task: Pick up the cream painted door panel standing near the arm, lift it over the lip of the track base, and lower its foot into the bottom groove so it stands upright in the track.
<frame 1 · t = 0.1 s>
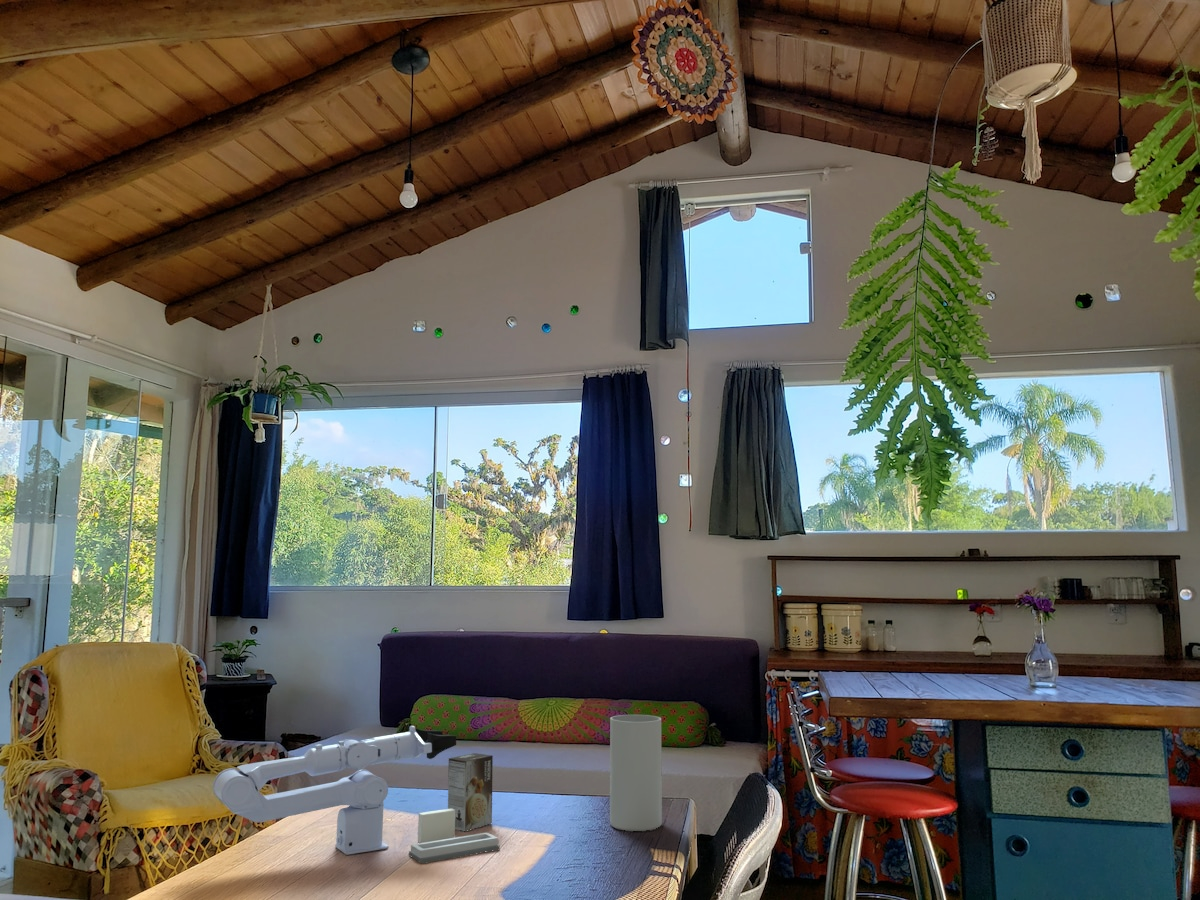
hand: (448, 737, 209), 22 cm above the table, tool horizontal, fingers open, 7 cm apart
door panel: (436, 841, 200), on the table
track base: (454, 852, 192), on the table
coffee box: (469, 827, 213), on the table
cylinder vase: (635, 826, 215), on the table
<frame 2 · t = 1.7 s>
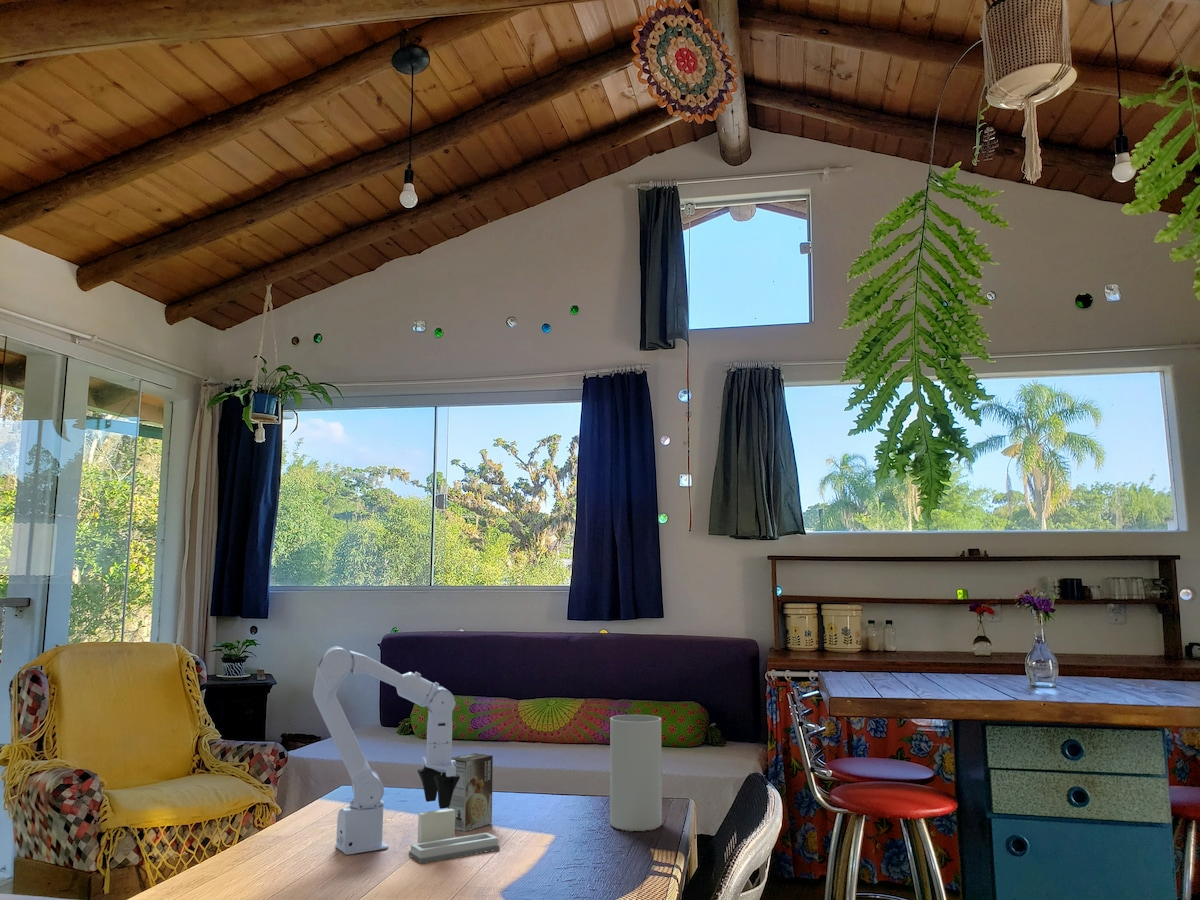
hand: (437, 804, 202), 8 cm above the table, tool pointing down, fingers open, 7 cm apart
nothing on the table moved.
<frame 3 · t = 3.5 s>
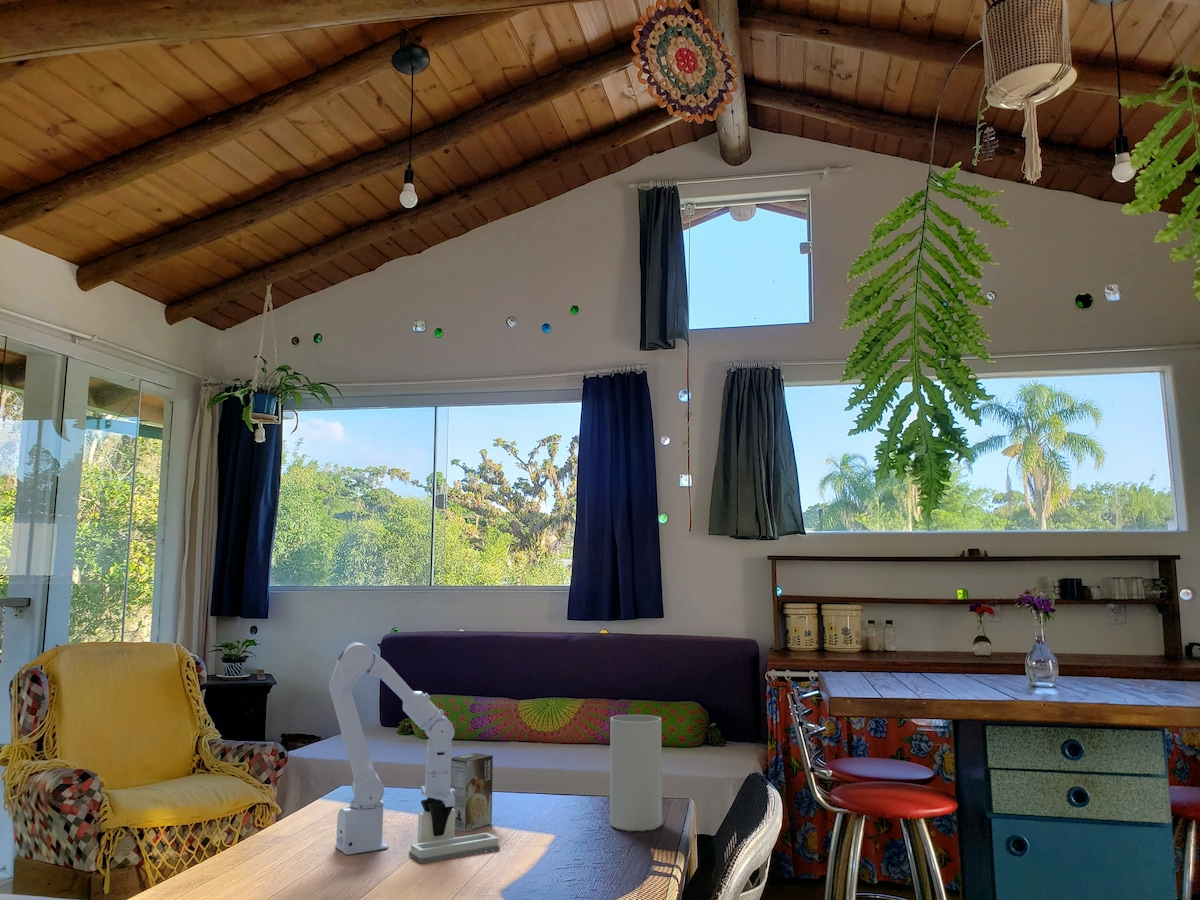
hand: (436, 833, 201), 2 cm above the table, tool pointing down, fingers closed on door panel, 2 cm apart
door panel: (436, 841, 200), on the table, touching gripper
everything else where it was.
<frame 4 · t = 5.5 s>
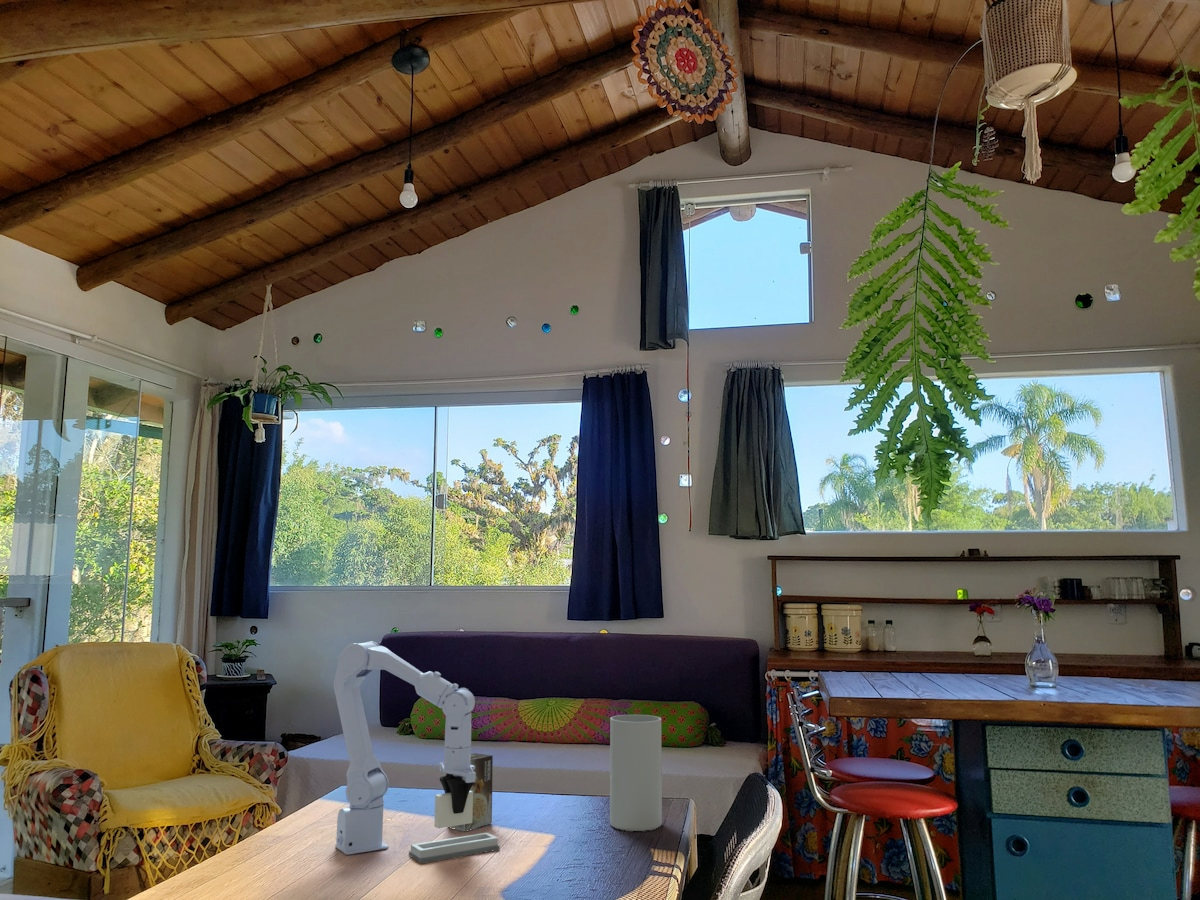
hand: (455, 811, 193), 8 cm above the table, tool pointing down, fingers closed on door panel
door panel: (453, 824, 193), point 6 cm above the table, touching gripper
everything else where it was.
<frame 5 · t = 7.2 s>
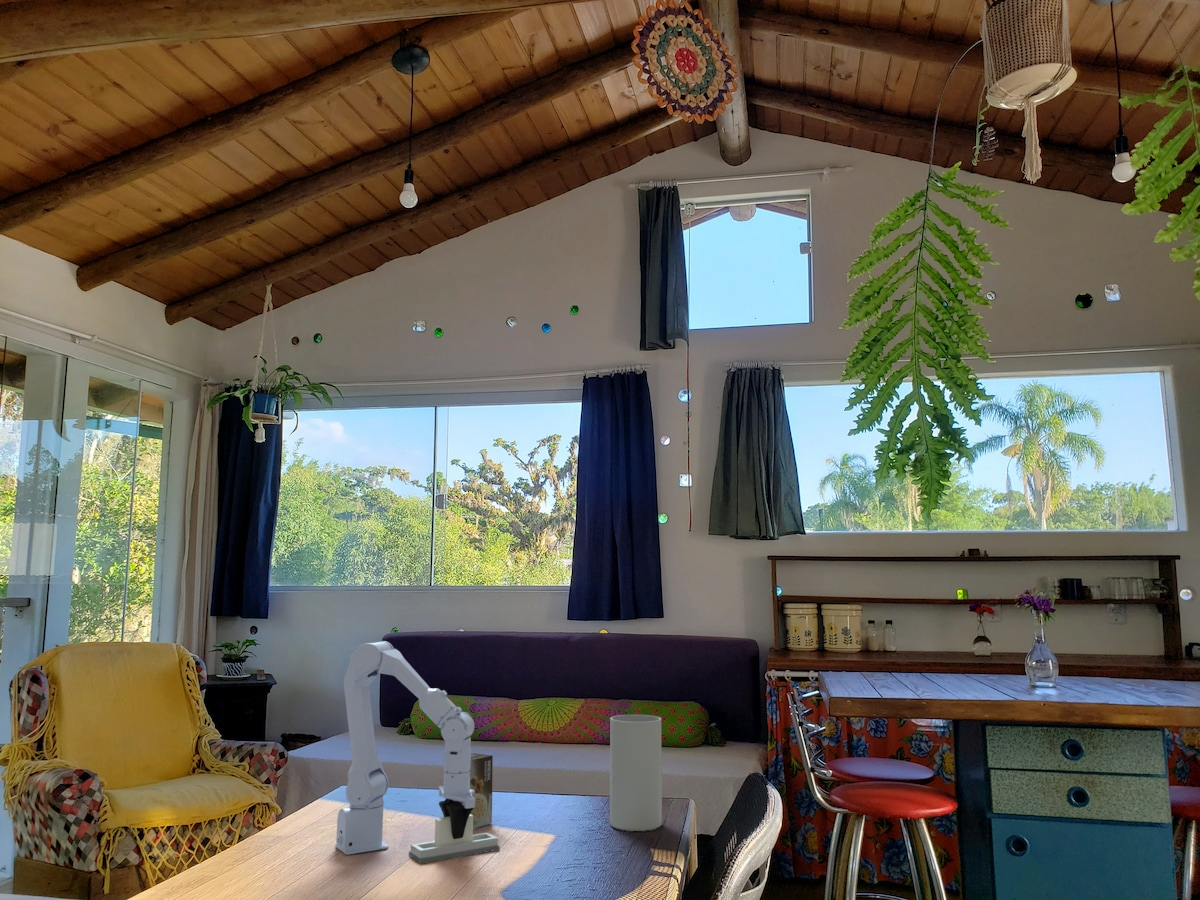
hand: (455, 836, 193), 3 cm above the table, tool pointing down, fingers closed on door panel, 2 cm apart
door panel: (453, 848, 192), point 1 cm above the table, touching gripper, track base
everything else where it was.
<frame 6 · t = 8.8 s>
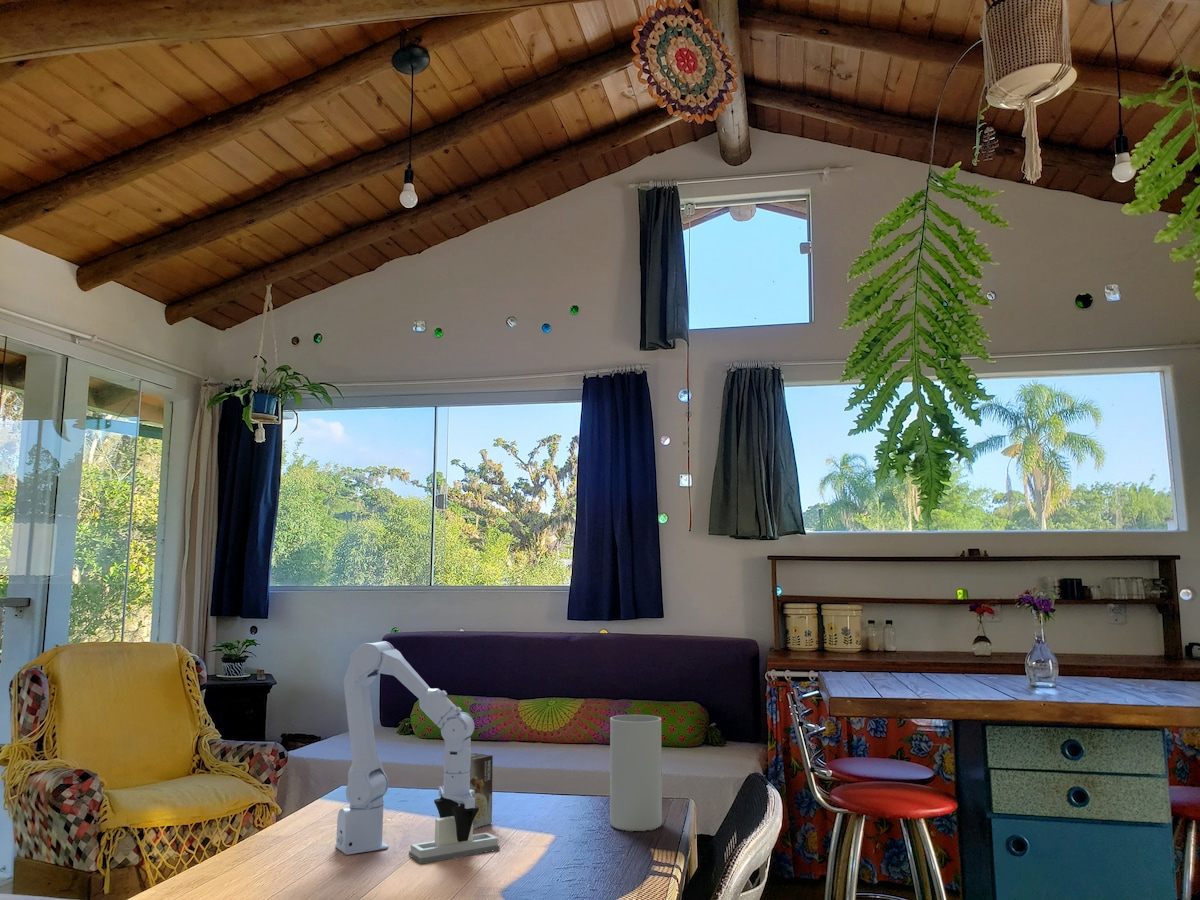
hand: (455, 836, 193), 3 cm above the table, tool pointing down, fingers open, 7 cm apart
door panel: (453, 848, 192), point 1 cm above the table, touching track base
everything else where it was.
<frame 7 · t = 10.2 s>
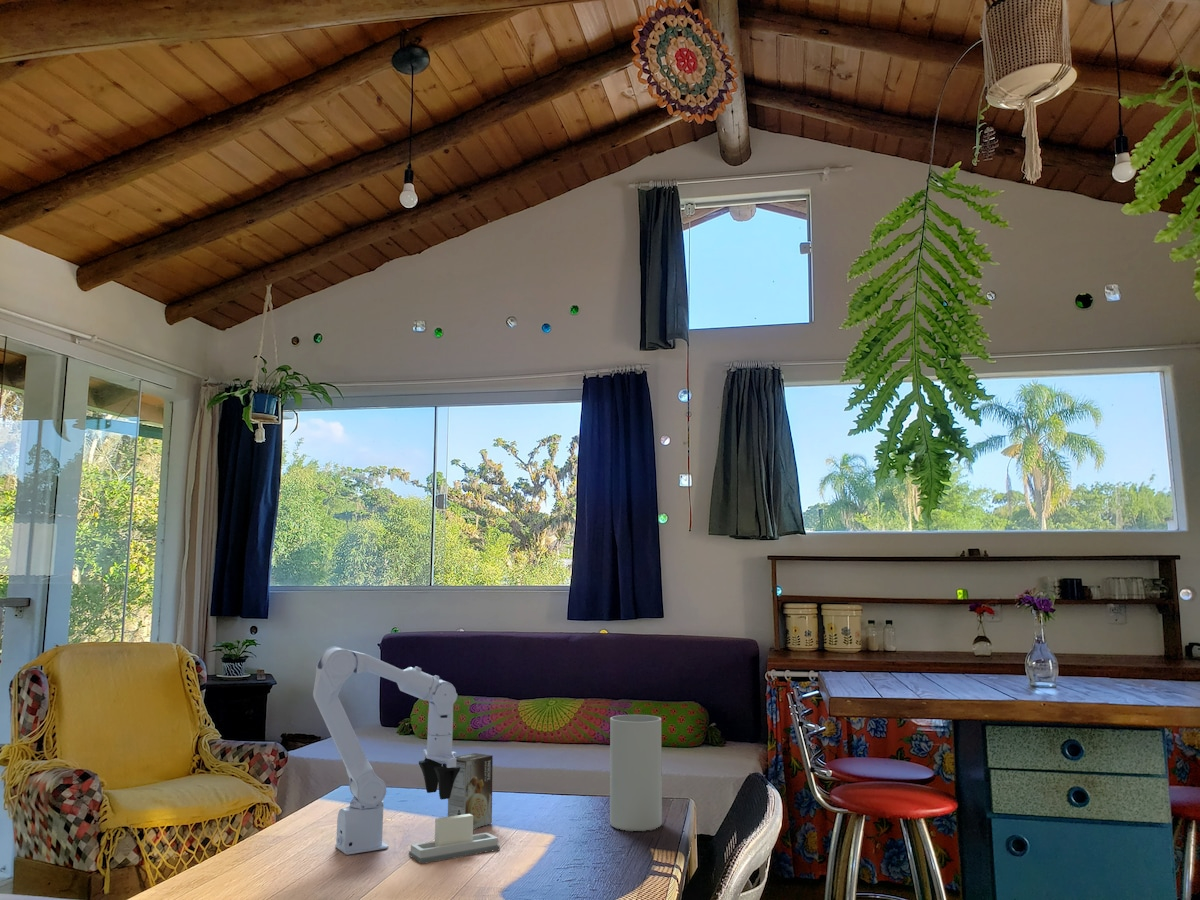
hand: (438, 795, 204), 9 cm above the table, tool pointing down, fingers open, 7 cm apart
nothing on the table moved.
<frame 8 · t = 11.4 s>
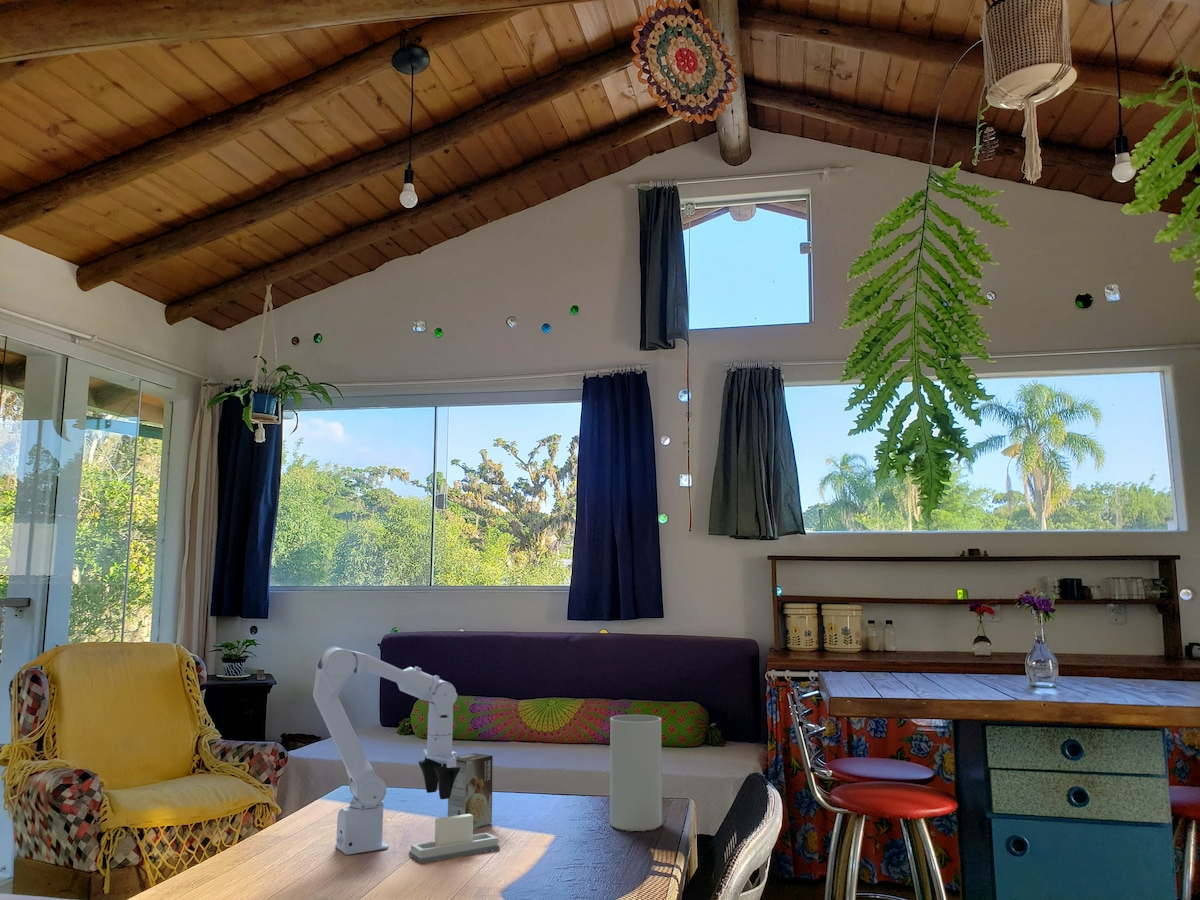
hand: (438, 795, 204), 9 cm above the table, tool pointing down, fingers open, 7 cm apart
nothing on the table moved.
at the end: door panel inside the target area (0.3 cm from its centre), point 0.8 cm above the table; door panel tilted 0°; the gripper is holding nothing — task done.
